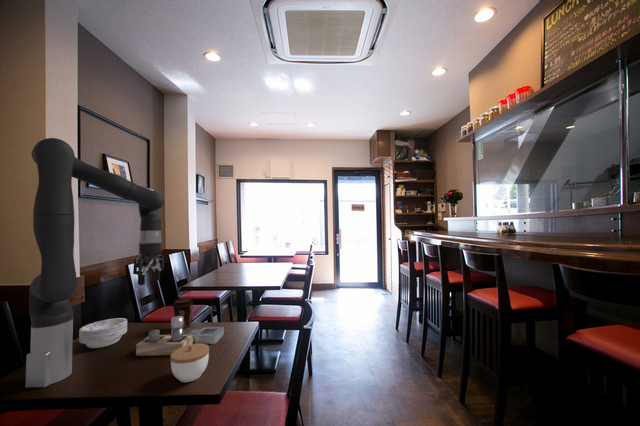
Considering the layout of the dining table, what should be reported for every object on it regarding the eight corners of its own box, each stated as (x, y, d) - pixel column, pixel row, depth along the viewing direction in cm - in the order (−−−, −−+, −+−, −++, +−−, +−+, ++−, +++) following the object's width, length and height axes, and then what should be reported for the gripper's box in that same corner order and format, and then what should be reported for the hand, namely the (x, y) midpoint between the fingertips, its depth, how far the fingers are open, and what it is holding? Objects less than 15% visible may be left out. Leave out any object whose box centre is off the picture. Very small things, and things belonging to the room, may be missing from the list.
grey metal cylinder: (179, 352, 97) (179, 319, 97) (168, 352, 97) (168, 319, 97) (185, 347, 101) (185, 315, 101) (175, 347, 101) (175, 316, 101)
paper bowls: (99, 336, 114) (100, 318, 114) (135, 334, 114) (135, 316, 115) (67, 353, 98) (67, 331, 99) (108, 351, 99) (109, 330, 99)
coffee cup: (173, 327, 122) (173, 299, 123) (193, 323, 125) (193, 296, 126) (171, 333, 114) (171, 303, 115) (192, 330, 118) (192, 301, 118)
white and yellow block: (195, 341, 106) (195, 333, 106) (175, 341, 106) (175, 333, 106) (199, 336, 110) (199, 329, 110) (181, 337, 110) (181, 329, 110)
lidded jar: (209, 364, 87) (209, 335, 88) (208, 381, 77) (208, 349, 78) (173, 371, 83) (173, 341, 84) (167, 391, 73) (167, 356, 74)
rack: (181, 354, 94) (181, 335, 95) (136, 355, 95) (136, 336, 95) (193, 344, 102) (193, 326, 103) (150, 345, 103) (150, 327, 103)
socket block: (215, 343, 103) (215, 335, 103) (192, 344, 103) (192, 336, 103) (223, 334, 112) (223, 326, 112) (203, 334, 112) (203, 327, 112)
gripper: (153, 241, 112) (152, 279, 111) (127, 243, 98) (126, 286, 97) (170, 241, 112) (169, 279, 111) (146, 242, 98) (145, 286, 96)
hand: (149, 282), depth 104 cm, fingers open, 8 cm apart
